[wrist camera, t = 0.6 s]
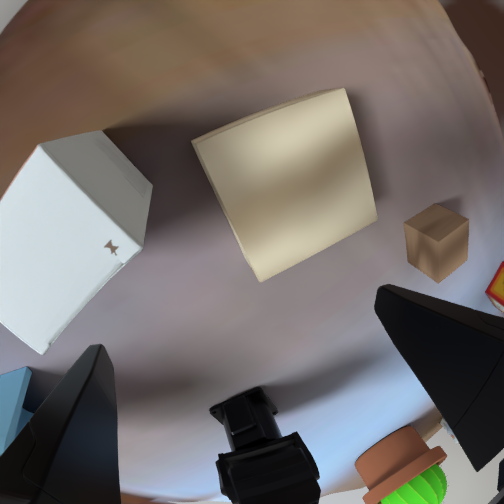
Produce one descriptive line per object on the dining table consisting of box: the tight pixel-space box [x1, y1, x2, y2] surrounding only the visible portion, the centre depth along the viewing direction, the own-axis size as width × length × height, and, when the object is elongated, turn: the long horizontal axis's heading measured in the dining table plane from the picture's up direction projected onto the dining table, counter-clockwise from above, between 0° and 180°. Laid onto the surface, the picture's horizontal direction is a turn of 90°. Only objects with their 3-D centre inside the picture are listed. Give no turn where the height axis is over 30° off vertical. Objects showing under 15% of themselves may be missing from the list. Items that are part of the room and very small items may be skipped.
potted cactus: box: [355, 426, 447, 504], centre depth 45 cm, size 22×22×25 cm
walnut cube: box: [404, 204, 469, 283], centre depth 26 cm, size 5×5×5 cm
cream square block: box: [191, 88, 378, 282], centre depth 20 cm, size 10×10×4 cm
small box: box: [0, 130, 153, 355], centre depth 13 cm, size 8×6×10 cm
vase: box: [0, 367, 34, 456], centre depth 14 cm, size 8×8×20 cm
